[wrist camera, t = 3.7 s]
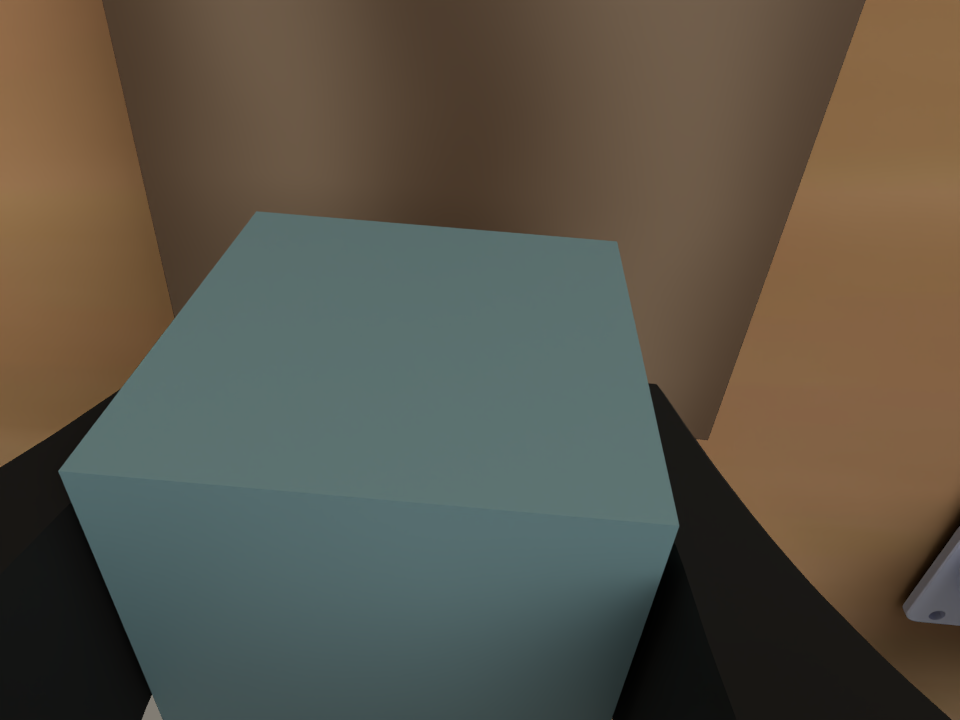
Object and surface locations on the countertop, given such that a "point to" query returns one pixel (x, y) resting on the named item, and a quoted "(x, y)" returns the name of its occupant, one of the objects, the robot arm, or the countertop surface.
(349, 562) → the teal cube
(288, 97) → the walnut block
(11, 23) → the countertop surface
